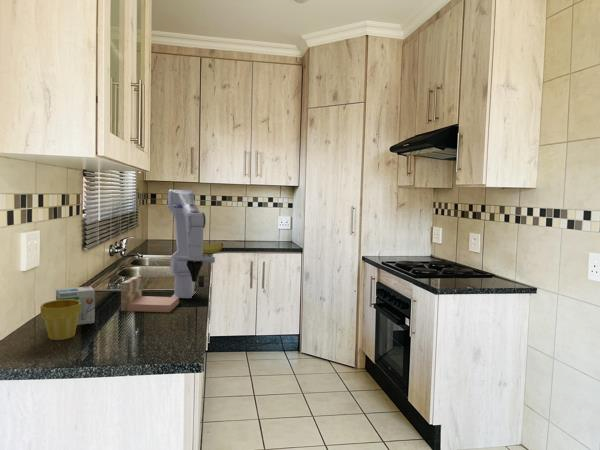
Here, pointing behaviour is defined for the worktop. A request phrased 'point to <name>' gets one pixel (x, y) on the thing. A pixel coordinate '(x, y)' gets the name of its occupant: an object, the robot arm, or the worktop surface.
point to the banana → (212, 248)
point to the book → (153, 304)
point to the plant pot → (61, 318)
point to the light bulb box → (84, 296)
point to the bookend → (130, 290)
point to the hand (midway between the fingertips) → (194, 281)
